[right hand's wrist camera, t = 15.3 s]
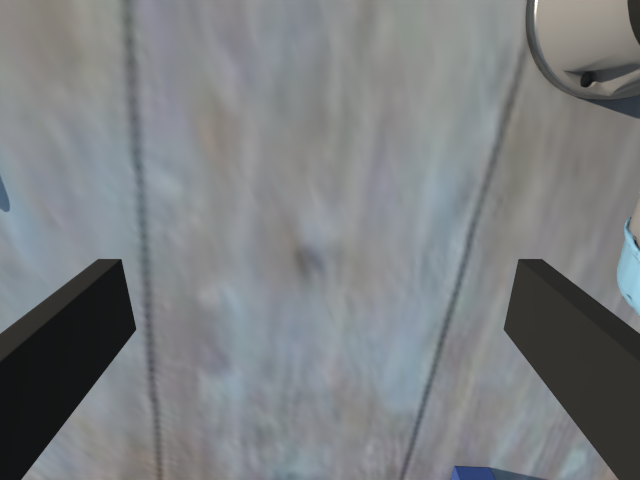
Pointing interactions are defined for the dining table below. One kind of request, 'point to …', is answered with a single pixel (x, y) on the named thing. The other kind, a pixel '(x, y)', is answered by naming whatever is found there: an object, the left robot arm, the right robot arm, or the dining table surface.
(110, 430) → the dining table surface
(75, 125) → the dining table surface
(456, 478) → the block
